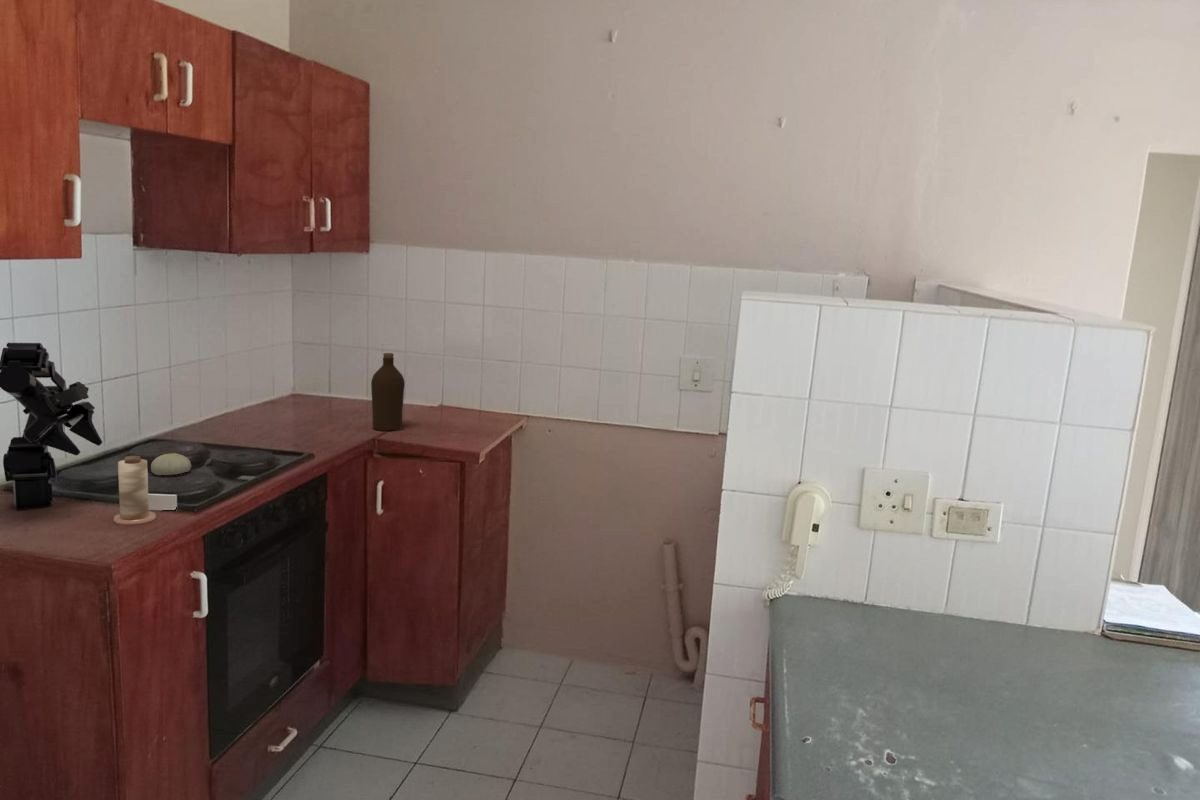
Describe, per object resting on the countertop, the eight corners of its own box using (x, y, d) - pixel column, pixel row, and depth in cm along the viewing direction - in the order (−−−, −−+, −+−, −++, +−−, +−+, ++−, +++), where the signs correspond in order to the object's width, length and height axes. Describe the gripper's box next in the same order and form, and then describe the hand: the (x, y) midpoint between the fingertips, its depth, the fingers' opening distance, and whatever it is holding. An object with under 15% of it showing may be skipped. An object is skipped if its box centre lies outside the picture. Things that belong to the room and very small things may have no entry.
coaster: (118, 527, 183) (118, 524, 183) (109, 516, 189) (109, 514, 189) (160, 521, 188) (160, 518, 188) (150, 511, 194) (150, 508, 194)
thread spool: (123, 521, 185) (121, 461, 182) (117, 514, 189) (115, 456, 186) (151, 517, 188) (150, 458, 186) (145, 510, 192) (143, 453, 190)
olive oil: (379, 433, 283) (380, 356, 278) (365, 426, 291) (366, 351, 286) (409, 430, 289) (410, 355, 285) (394, 424, 297) (396, 350, 293)
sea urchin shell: (200, 466, 226) (178, 447, 220) (179, 490, 222) (156, 472, 217) (184, 459, 231) (161, 441, 226) (163, 483, 228) (139, 465, 223)
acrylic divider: (129, 509, 194) (128, 494, 194) (131, 508, 195) (130, 493, 195) (175, 510, 195) (175, 495, 194) (177, 509, 196) (176, 494, 195)
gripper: (35, 378, 179) (93, 433, 181) (83, 365, 197) (136, 416, 200) (-3, 414, 179) (56, 469, 182) (49, 398, 198) (101, 448, 200)
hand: (89, 448), depth 191 cm, fingers open, 9 cm apart
